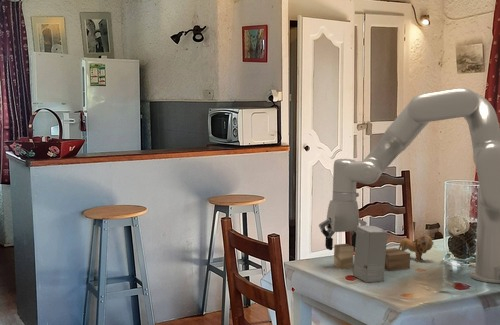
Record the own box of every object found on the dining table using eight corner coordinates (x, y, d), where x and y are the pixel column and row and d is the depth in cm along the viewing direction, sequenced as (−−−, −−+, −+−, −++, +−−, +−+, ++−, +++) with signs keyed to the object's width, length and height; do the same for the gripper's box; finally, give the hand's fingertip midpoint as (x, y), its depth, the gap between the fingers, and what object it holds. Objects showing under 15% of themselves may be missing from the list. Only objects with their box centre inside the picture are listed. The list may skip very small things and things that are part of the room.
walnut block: (409, 268, 196) (410, 253, 195) (389, 270, 193) (389, 255, 193) (395, 262, 203) (395, 247, 203) (375, 264, 200) (375, 249, 200)
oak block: (352, 267, 197) (353, 246, 196) (340, 268, 195) (341, 247, 195) (345, 264, 201) (346, 243, 201) (333, 265, 200) (334, 244, 199)
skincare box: (352, 275, 187) (353, 225, 186) (372, 273, 190) (373, 224, 188) (366, 283, 179) (367, 231, 178) (387, 281, 182) (388, 229, 180)
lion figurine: (435, 261, 205) (436, 235, 204) (427, 264, 201) (428, 238, 200) (397, 253, 215) (398, 229, 215) (389, 256, 212) (390, 231, 211)
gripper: (360, 194, 203) (358, 244, 205) (315, 196, 196) (313, 247, 198) (373, 197, 196) (370, 249, 198) (326, 199, 190) (324, 252, 191)
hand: (342, 248), depth 198 cm, fingers open, 9 cm apart
